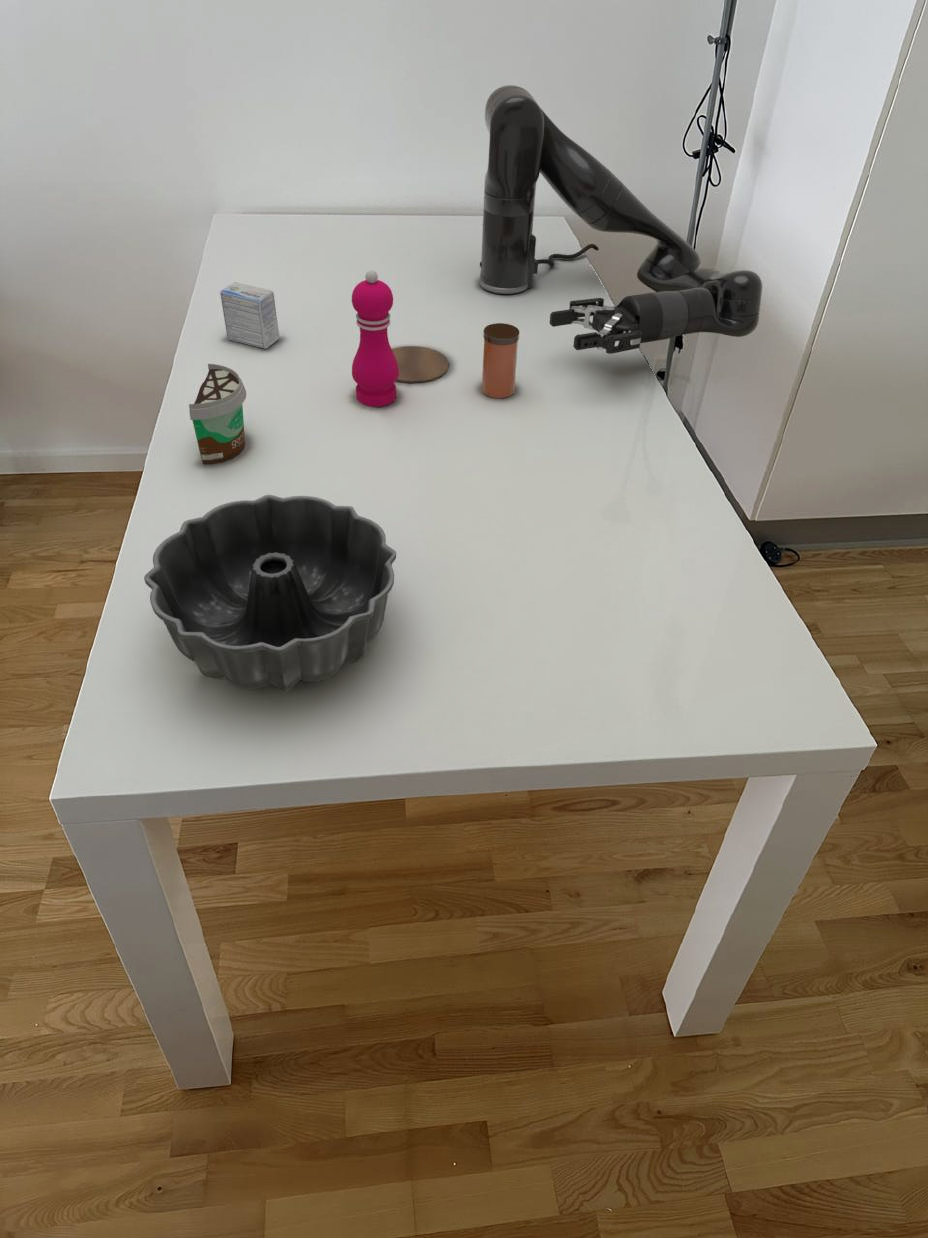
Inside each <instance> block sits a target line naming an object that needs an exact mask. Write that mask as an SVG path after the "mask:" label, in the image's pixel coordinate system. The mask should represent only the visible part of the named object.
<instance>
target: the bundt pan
mask: <svg viewBox="0 0 928 1238" xmlns="http://www.w3.org/2000/svg"><path fill="white" fill-rule="evenodd" d="M396 559H397V551H396V550H395V549H393V548H392V547H391V546H389V545H388V544H387V538H386V533H385V531H384V529H383V528H382V527H381V526H380V525H379V524H378V523H377V522H375V521H374V520H372V519H369V518H367V517H364V516H361V515H359V514H358V513H357V512H356V510H355V508H354V507H353V506H350V505H335V503H334V504H333V502H330V501H329V500H326V499H323V498H320V497H317V496H311V495H310V496H309V495H293V496H288V497H287V496H286V497H280V496H277V495H273V494H265V495H263V496H261V497H258V498H257V499H253V500H236V501H231V502H227V503H224V504H220V505H218V506H216V507H214V508H212V509H210V510H209V511H207V512H206V513H205V514H203V515H202V516H200V517H196V518H190V519H187V520H185V521H183V522H182V524H181V526H180V529H179V531H178V532H176V533H174V534H171V535H170V536H168V537H167V538H165V539H164V540H163V541H161V543H160V544H159V545H158V546H157V547H156V548H155V551H154V552H153V556H152V565H153V567H152V568H151V569H150V570H149V571H148V572H147V573H146V574H145V575H144V577H143V580H144V583H145V584H146V586H147V587H148V588H149V589H151V591H150V594H149V601H150V606H151V608H152V611H153V613H154V615H156V616H157V618H159V619H160V620H161V621H162V622H163V623H164V625H165V627H166V630H167V632H168V633H169V636H170V637H171V640H172V641H173V643H174V645H175V647H176V648H177V650H178V651H179V652H180V653H181V654H182V655H183V656H184V657H185V658H187V659H188V660H191V661H193V662H195V665H196V667H197V669H198V671H199V672H200V673H201V674H202V675H203V676H205V677H206V678H208V679H212V680H219V679H225V680H226V681H228V682H229V683H231V684H232V685H234V686H236V687H237V688H242V689H247V690H256V689H262V688H265V687H267V686H269V685H273V686H275V687H277V688H278V689H281V690H282V691H284V692H288V691H290V690H291V689H292V688H293V687H294V686H295V685H297V684H298V683H299V682H300V681H302V682H303V681H304V682H310V683H312V682H313V683H316V682H321V681H324V680H327V679H329V678H331V677H332V676H333V675H335V674H336V673H337V672H338V671H339V670H340V669H341V667H342V666H343V664H354V663H356V662H358V661H360V660H361V659H362V657H364V654H365V653H366V649H367V648H366V647H367V644H368V643H369V642H371V641H372V640H374V638H375V637H376V636H377V635H378V633H379V632H380V630H381V628H382V626H383V623H384V619H385V613H386V608H387V602H388V596H389V594H390V592H391V591H392V589H393V587H394V584H395V571H394V568H393V564H394V561H396Z"/></svg>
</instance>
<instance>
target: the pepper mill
mask: <svg viewBox="0 0 928 1238" xmlns="http://www.w3.org/2000/svg"><path fill="white" fill-rule="evenodd" d="M378 278H379V275H378V274H377V272H376V271H375V270H372V269H371V270H368V271H366V273H365V279H363V280H362V281H360V282H358V283H357V284H356V285H355V287H354V288H353V290H352V294H351V304H352V307H353V309H354V311H355V312H356V315H355V318H356V321H355V323H356V325H357V327H358V328H359V343H358V348H357V351H356V352H355V355H354V358H353V360H352V363H351V364H352V365H351V377H352V379H353V381H354V382H355V383H356V386H355V397H356V400H357V401H358V403H360V404H362V405H363V406H367V407H371V408H378V407H379V408H380V407H381V408H382V407H387V406H389V405H390V404H393V402H395V401H396V399H397V386H396V382H397V381H396V380H397V379H398V376H399V368H398V363H397V360H396V357H395V355H394V353H393V351H392V349H393V348H392V346H391V344H390V341H389V334H388V327H389V326H390V325H391V313H390V311H391V310H392V308H393V306H394V295H393V291H392V289H391V287H390V286H389V285H388V284H387V283H385V282H384V281H382V280H381V279H378Z"/></svg>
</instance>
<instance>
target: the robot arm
mask: <svg viewBox="0 0 928 1238" xmlns="http://www.w3.org/2000/svg"><path fill="white" fill-rule="evenodd" d="M484 121H485V126H486V129H487V131H488V134H489V145H488V163H487V170H486V172H485V174H484V184H483V185H484V188H483V213H482V231H481V232H482V235H481V256H480V258H481V259H480V262H479V268H480V274H479V285H480V287H481V288H482V289H483V290H485V291H488V292H490V293H494V294H499V295H513V294H519V293H522V292H524V291H526V290H527V289H531V288H533V281H534V275H538V271H539V265H542V264H543V265H548V266H550V267H553V266H554V265H555V262H554V259H563V260H572V259H576V258H579V257H580V256H582V255H584V254H585V253H586V252H587V251H589V250H591V249H593V250H594V251H599V250H600V247H598V246H597V244H595V243H588V244H587V245H586V246H584V247H583V248H581V249H580V250H579V251H577V252H575V253H572V254H564V253H563V254H562V253H553V254H550V255H549V256H548V258H547V259H546V258H541V259H539V258H538V259H536V245H537V237H536V235H534V234H533V228H534V217H535V204H536V202H535V201H536V191H537V182H538V180H539V177H540V174H541V176H542V177H543V178H544V180H545V181H546V182H547V184H548V185H549V186H550V187H551V188H552V190H553V191H554V193H555V194H557V196H558V197H559V198H560V200H562V202H563V203H564V204H565V205H566V206H567V207H568V208H569V209H570V210H571V211H572V212H573V213H574V214H575V215H576V216H577V217H578V218H580V219H581V220H582V222H584V223H585V224H586V225H587V226H589V228H591V229H593V230H596V231H599V232H604V233H616V234H619V233H620V234H621V233H622V234H625V233H626V234H635V235H641V236H645V237H650V238H652V239H654V240H656V245H654V247H653V249H652V250H651V251H650V253H649V254H648V255H647V256H646V258H645V259H644V260H643V261H642V263H641V264H640V267H639V268H638V270H637V272H636V278H637V279H638V281H640V282H641V283H642V284H643V285H644V286H646V287H648V288H649V289H650V290H652V291H654V292H645V293H640V294H633V295H632V294H631V295H627V296H625V297H623V298H622V299H621V300H620V302H619V303H618V304H617V305H616V306H610V305H605V299H604V298H603V297H595V298H586V299H585V298H584V299H576V300H570V301H569V309H563V310H555V311H552V312H551V313H550V314H549V325H550V326H551V327H553V328H554V327H560V326H566V325H567V326H568V325H572V324H575V325H580V326H581V325H582V326H583V328H584V329H587V330H594V332H593V331H592V332H588V333H581V334H580V333H579V334H576V335H575V336H574V338H573V344H572V345H573V349H574V350H575V351H583V350H589V349H594V348H596V349H598V350H605V353H606V354H608V355H611V354H618V353H622V352H623V353H624V352H627V351H632V350H637V349H640V347H641V344H646V343H652V342H658V341H664V340H669V339H673V338H675V337H678V336H685V335H690V334H699V333H711V334H719V335H724V336H729V337H735V338H742V337H743V338H744V337H746V336H748V335H751V334H752V333H753V332H754V331H755V330H756V329H757V327H758V325H759V321H760V314H761V313H760V311H761V304H762V295H763V282H762V279H761V277H760V276H759V274H758V273H756V272H755V271H753V270H748V269H741V270H740V269H739V270H734V271H729V272H726V273H725V272H723V271H721V270H718V269H715V268H713V267H700V265H701V257H700V255H699V253H698V252H697V250H696V249H695V248H694V247H693V246H692V245H691V244H690V243H689V242H687V241H686V240H685V239H684V238H683V237H682V236H681V235H679V233H677V232H675V230H674V229H672V228H671V227H670V226H669V225H667V224H666V223H665V222H664V221H662V220H661V219H660V218H659V217H658V216H657V215H656V214H655V213H653V212H652V211H651V210H650V209H649V208H648V207H647V206H645V204H644V203H642V201H641V200H639V198H638V197H637V196H636V195H635V194H634V193H633V192H632V191H631V190H630V189H629V188H628V187H627V186H626V185H625V184H624V183H623V181H621V180H620V179H619V177H617V176H616V175H615V174H614V173H613V172H612V171H611V170H609V168H608V167H606V166H605V165H604V164H603V163H602V162H600V160H599V159H597V158H596V157H595V156H594V155H592V154H591V153H590V152H589V151H587V150H586V149H585V148H584V147H583V146H581V145H580V144H579V143H577V142H576V141H574V140H572V139H571V138H570V137H569V136H567V135H566V134H565V133H564V132H563V131H562V130H561V129H560V128H559V127H558V126H557V125H556V124H555V123H554V122H553V120H552V119H551V118H550V117H549V116H548V115H547V114H546V113H545V111H544V110H543V109H542V108H541V107H540V105H539V103H538V102H537V101H536V99H535V98H534V96H533V95H532V94H531V93H530V92H529V91H528V90H526V88H523V87H521V86H518V85H515V84H514V85H513V84H509V85H508V84H507V85H502V86H500V87H498V88H496V89H495V90H494V91H492V92H491V94H489V96H488V98H487V100H486V102H485V107H484ZM591 317H592V320H591ZM616 342H618V344H617V345H615V344H616Z"/></svg>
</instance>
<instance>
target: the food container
mask: <svg viewBox="0 0 928 1238" xmlns="http://www.w3.org/2000/svg"><path fill="white" fill-rule="evenodd" d="M207 368H208V372H207V375H206V377H205V379H204V380H203V382H202V383H201V385H200V386H199V390H198V393H197V396H196V398H195V400H194V403H189V404H188V407H189V409H188V411H189V420H190V421H192V424H193V429H194V433H195V437H196V442H197V446H198V450H199V455H200V459H201V463H202V465H214V464H221V463H224V462H228V461H230V460H233V459H234V458H236V457H238V456H239V455H241V454H242V452H244V450H245V447H246V437H245V436H246V435H245V422H244V406H243V403H244V402H245V400H246V398H247V390H246V387H245V385H244V383H243V380H242V378H241V377H240V376H239V373H237V372H236V370H234V369H232V368H230V367H228V366H225V365H221V364H215V363H207Z"/></svg>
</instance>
